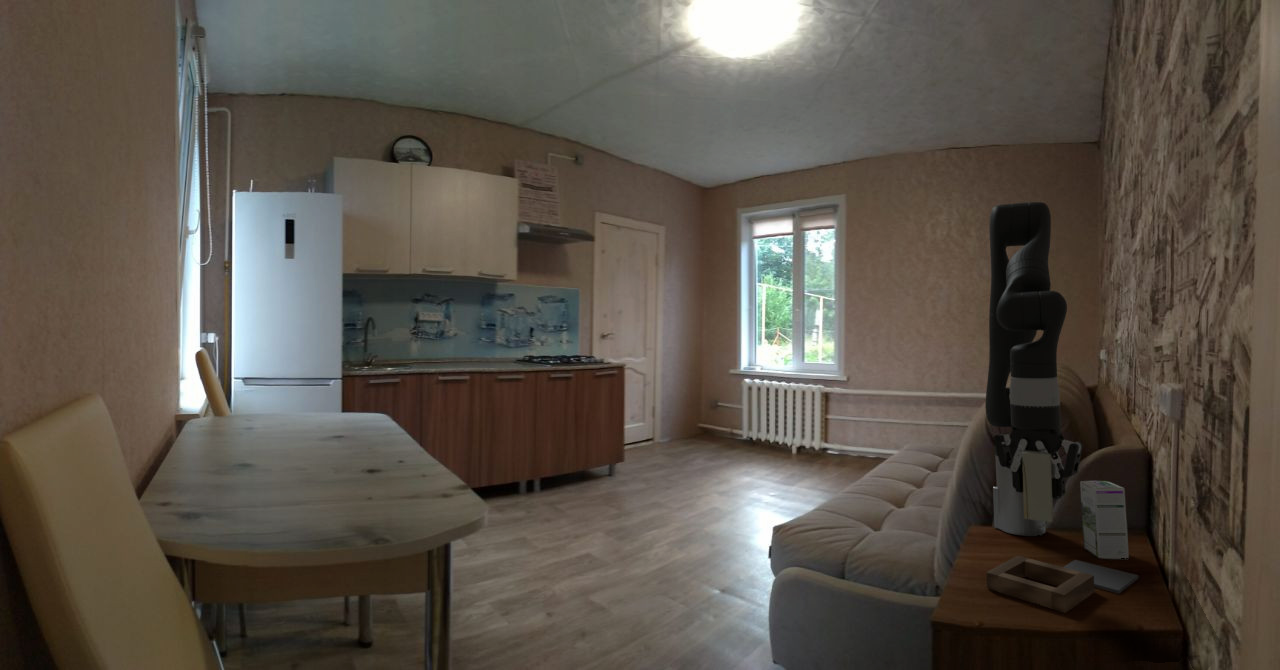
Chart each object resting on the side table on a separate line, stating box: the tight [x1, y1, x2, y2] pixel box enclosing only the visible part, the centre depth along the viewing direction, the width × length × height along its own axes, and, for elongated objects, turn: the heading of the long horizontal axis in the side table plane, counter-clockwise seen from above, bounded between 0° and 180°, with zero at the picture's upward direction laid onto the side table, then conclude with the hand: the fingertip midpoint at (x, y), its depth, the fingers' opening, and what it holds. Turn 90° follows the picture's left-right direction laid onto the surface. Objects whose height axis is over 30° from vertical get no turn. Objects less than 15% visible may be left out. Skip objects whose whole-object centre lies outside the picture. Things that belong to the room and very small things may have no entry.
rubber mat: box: [1063, 559, 1139, 595], centre depth 111 cm, size 10×10×1 cm
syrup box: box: [1079, 480, 1130, 560], centre depth 121 cm, size 6×6×14 cm
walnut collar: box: [985, 555, 1095, 614], centre depth 106 cm, size 12×12×3 cm
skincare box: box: [1022, 450, 1054, 523], centre depth 107 cm, size 6×4×12 cm
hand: (1038, 494), depth 107 cm, fingers closed on skincare box, 5 cm apart
